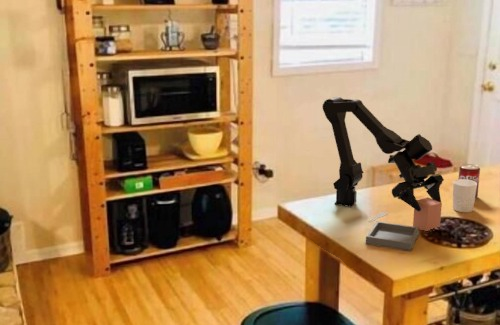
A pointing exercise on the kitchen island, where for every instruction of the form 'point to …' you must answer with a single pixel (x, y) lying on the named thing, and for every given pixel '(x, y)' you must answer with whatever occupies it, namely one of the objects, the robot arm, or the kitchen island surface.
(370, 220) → the butter knife
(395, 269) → the kitchen island surface
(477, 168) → the soda can
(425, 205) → the terracotta block
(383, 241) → the charcoal tray
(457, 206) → the white cup
